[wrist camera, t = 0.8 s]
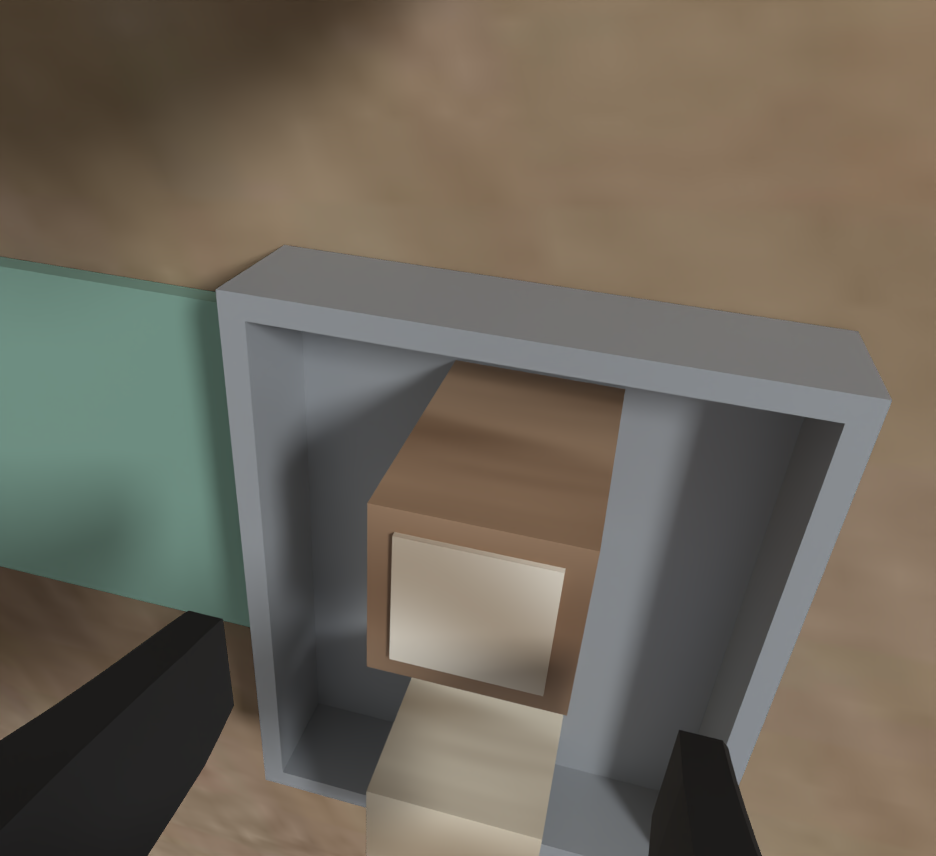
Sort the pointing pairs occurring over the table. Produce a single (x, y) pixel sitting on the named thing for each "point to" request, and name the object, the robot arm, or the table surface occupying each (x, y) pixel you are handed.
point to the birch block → (462, 776)
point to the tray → (626, 523)
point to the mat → (117, 439)
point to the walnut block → (492, 535)
